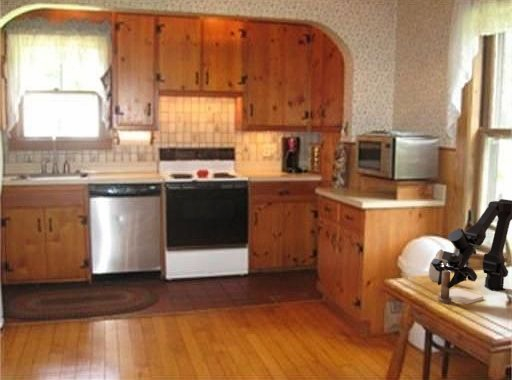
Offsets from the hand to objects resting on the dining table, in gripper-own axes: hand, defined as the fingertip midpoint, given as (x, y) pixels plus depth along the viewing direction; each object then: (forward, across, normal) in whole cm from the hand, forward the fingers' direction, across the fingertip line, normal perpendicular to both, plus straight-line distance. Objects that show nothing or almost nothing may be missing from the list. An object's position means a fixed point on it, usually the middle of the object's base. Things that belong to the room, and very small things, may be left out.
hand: (443, 286), depth 216 cm
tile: (-4, 0, +13) cm, 14 cm away
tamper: (+4, 0, +6) cm, 7 cm away
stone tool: (-11, -20, +20) cm, 31 cm away
